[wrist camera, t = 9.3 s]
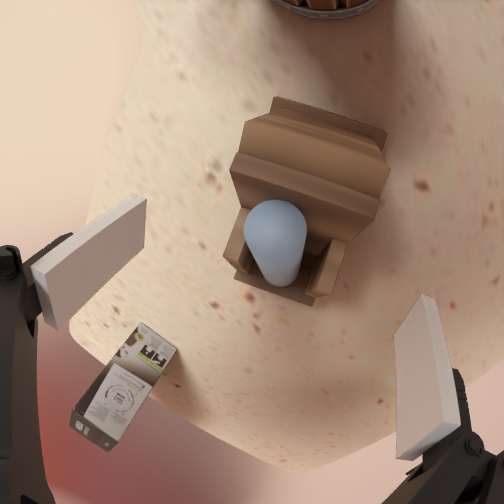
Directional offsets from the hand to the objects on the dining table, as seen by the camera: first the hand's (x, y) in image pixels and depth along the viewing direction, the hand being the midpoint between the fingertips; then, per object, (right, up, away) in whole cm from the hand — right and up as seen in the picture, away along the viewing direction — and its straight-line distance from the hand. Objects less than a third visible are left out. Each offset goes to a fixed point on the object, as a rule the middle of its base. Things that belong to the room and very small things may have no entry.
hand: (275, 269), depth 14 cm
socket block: (+4, +6, +13) cm, 14 cm away
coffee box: (-16, -13, +30) cm, 36 cm away
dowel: (+2, -1, +14) cm, 14 cm away
